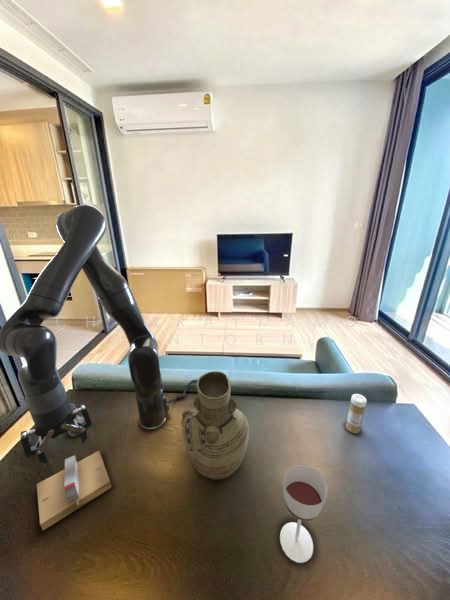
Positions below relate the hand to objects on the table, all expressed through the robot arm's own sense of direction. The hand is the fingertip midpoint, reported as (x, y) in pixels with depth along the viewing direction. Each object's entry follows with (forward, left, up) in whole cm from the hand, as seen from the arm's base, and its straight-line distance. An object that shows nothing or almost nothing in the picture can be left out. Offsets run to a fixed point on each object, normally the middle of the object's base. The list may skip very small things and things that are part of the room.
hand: (65, 450), depth 65 cm
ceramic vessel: (-35, +18, -15) cm, 42 cm away
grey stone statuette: (-3, -22, -15) cm, 27 cm away
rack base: (+1, 0, -15) cm, 15 cm away
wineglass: (-38, +46, -15) cm, 61 cm away
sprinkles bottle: (-79, +39, -15) cm, 90 cm away
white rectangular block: (+1, 0, -12) cm, 12 cm away
